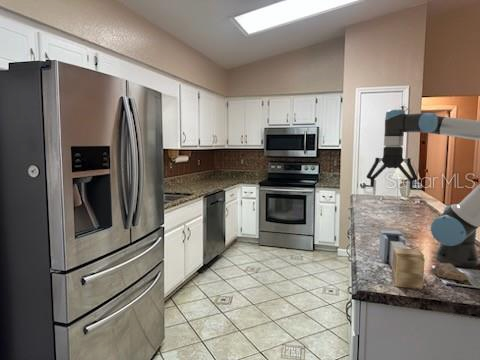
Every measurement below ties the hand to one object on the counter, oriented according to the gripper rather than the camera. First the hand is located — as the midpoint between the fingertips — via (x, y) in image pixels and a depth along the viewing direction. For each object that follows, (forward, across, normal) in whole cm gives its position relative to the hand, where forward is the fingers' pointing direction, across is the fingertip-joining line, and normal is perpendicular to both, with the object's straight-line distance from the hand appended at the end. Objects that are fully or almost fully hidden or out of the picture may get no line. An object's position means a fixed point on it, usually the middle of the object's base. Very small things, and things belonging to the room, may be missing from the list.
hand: (390, 195), depth 145 cm
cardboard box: (+27, -1, +30) cm, 41 cm away
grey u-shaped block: (+27, -1, +6) cm, 27 cm away
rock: (+27, -18, +21) cm, 39 cm away
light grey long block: (+27, -1, +21) cm, 34 cm away
